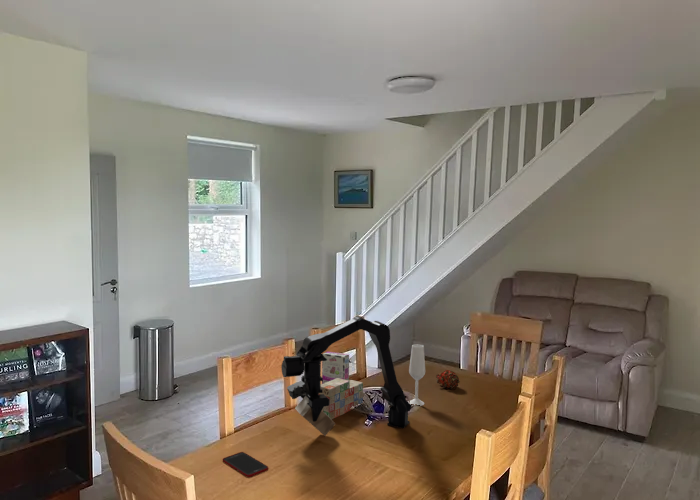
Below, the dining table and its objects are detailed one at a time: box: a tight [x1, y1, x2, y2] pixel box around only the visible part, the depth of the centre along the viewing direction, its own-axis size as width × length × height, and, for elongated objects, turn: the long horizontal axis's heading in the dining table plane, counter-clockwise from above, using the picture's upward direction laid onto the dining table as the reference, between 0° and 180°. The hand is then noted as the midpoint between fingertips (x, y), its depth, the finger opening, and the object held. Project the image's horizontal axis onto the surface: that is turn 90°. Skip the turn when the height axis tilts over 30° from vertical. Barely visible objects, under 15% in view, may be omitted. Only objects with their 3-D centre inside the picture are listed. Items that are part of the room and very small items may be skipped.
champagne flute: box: [408, 343, 426, 407], centre depth 219 cm, size 7×7×24 cm
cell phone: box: [222, 451, 269, 478], centre depth 164 cm, size 8×15×1 cm, turn 45°
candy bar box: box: [321, 351, 350, 384], centre depth 232 cm, size 11×5×16 cm, turn 62°
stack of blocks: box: [319, 378, 364, 420], centre depth 210 cm, size 21×6×12 cm, turn 142°
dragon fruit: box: [435, 369, 461, 390], centre depth 240 cm, size 8×8×12 cm
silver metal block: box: [295, 396, 336, 437], centre depth 184 cm, size 6×6×13 cm
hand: (311, 418), depth 184 cm, fingers closed on silver metal block, 5 cm apart
